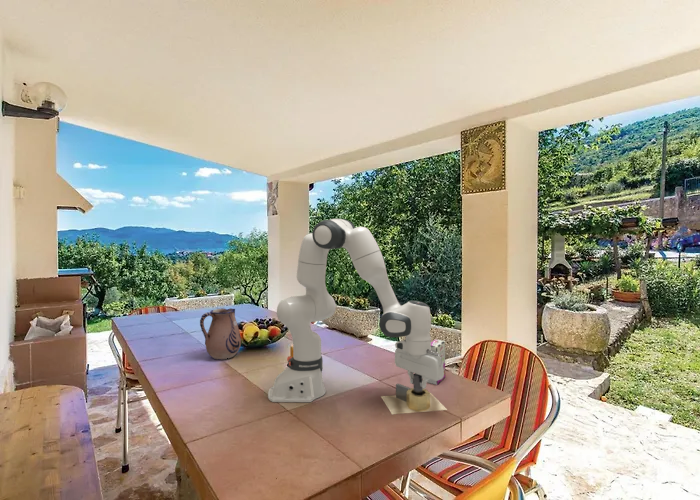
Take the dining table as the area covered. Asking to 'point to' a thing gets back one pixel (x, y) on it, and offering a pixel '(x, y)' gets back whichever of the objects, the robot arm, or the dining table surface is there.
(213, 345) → the ceramic pitcher
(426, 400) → the hinge leaves
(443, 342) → the candy bar box
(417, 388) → the hinge pin
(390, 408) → the oak board
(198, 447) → the dining table surface
